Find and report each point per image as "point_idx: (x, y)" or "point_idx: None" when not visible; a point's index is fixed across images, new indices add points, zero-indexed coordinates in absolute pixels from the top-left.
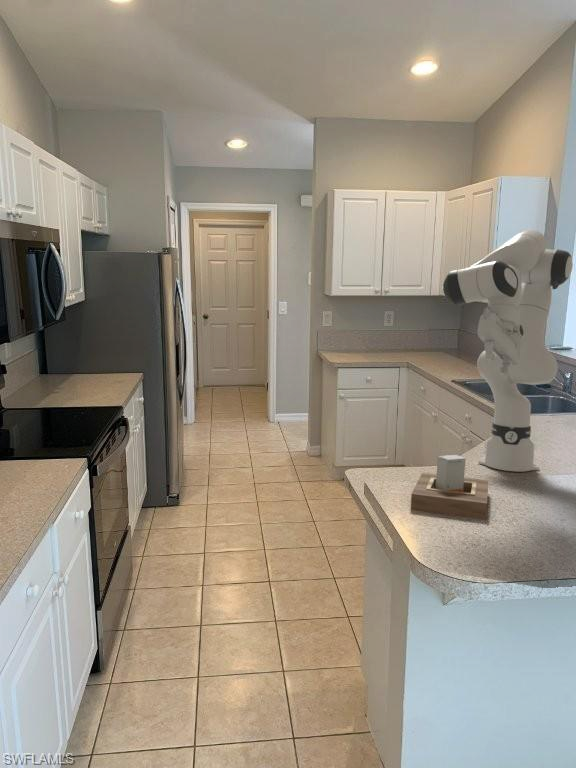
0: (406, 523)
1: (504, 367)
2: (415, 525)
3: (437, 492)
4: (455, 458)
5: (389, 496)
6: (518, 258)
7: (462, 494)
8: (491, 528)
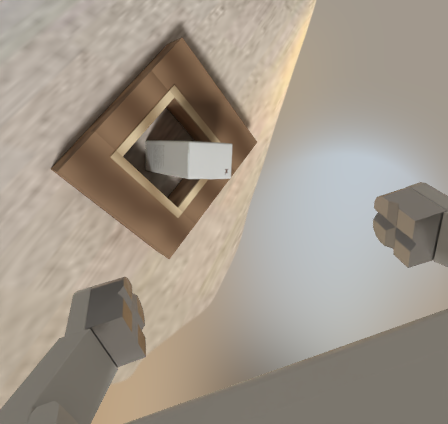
0: (274, 93)
1: (130, 321)
2: (269, 81)
3: (219, 132)
4: (211, 147)
5: (234, 206)
6: None
7: (188, 103)
8: (187, 7)
